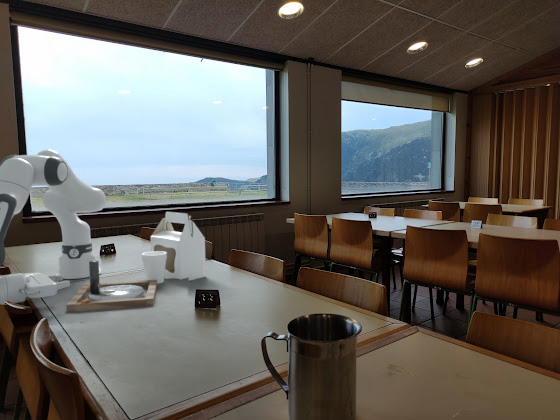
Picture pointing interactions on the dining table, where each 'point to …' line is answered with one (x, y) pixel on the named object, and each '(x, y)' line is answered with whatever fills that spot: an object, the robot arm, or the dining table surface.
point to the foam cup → (154, 265)
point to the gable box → (180, 247)
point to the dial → (110, 287)
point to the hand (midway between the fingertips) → (65, 280)
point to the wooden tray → (86, 305)
